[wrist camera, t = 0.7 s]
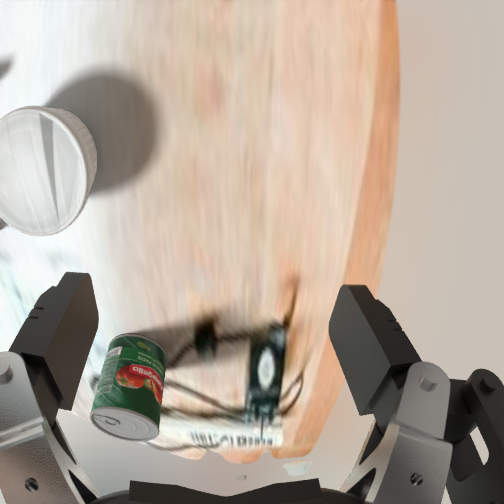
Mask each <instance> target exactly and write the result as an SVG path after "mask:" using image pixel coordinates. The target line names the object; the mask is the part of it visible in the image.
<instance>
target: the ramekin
mask: <svg viewBox="0 0 504 504" xmlns="http://www.w3.org/2000/svg"><path fill="white" fill-rule="evenodd" d="M96 171H97V150H96V146H95V142H94V140H93V137H92V135H91V133H90V131H89V130H88V128H87V127H86V125H85V124H84V123H83V122H82V121H81V120H80V119H79V118H78V117H77V116H76V115H74V114H73V113H71V112H68V111H67V110H63V109H60V108H46V107H41V106H26V107H22V108H19V109H16V110H14V111H12V112H10V113H8V114H7V115H5V116H4V117H3V118H1V119H0V217H1V218H2V219H3V220H4V221H5V222H6V223H7V224H8V225H10V226H11V227H13V228H14V229H16V230H18V231H20V232H22V233H25V234H28V235H33V236H48V235H53V234H57V233H59V232H61V231H63V230H64V229H66V228H67V227H68V226H70V225H71V224H72V223H73V222H74V221H75V220H76V218H77V217H78V216H79V214H80V213H81V211H82V210H83V208H84V206H85V204H86V202H87V199H88V196H89V192H90V189H91V187H92V184H93V181H94V179H95V174H96Z"/></svg>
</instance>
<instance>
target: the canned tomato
mask: <svg viewBox="0 0 504 504" xmlns="http://www.w3.org/2000/svg"><path fill="white" fill-rule="evenodd" d="M166 363H167V355H166V352H165V351H164V349H163V348H162V347H161V346H160V345H159V344H158V343H157V342H155V341H154V340H152V339H150V338H147V337H145V336H141V335H137V334H124V335H119V336H117V337H115V338H114V339H112V341H111V342H110V344H109V348H108V352H107V355H106V358H105V361H104V365H103V369H102V372H101V375H100V379H99V383H98V386H97V390H96V395H95V398H94V402H93V407H92V411H91V413H90V420H91V422H92V423H93V425H94V426H95V427H96V428H98V429H99V430H101V431H102V432H104V433H106V434H108V435H110V436H113V437H115V438H119V439H123V440H127V441H137V442H141V441H149V440H152V439H154V438H156V437H157V436H158V435H159V424H160V414H161V404H162V397H163V387H164V378H165V371H166Z"/></svg>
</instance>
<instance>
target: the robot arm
mask: <svg viewBox="0 0 504 504" xmlns="http://www.w3.org/2000/svg"><path fill="white" fill-rule="evenodd" d="M98 321H99V316H98V309H97V305H96V300H95V295H94V290H93V285H92V280H91V276H90V275H89V274H88V273H77V272H66V273H65V274H64V276H63V277H62V279H61V280H60V282H59V284H58V285H57V287H55V286H52V287H51V288H49V289H48V290H47V291H46V292H44V293H43V294H42V295H41V296H40V297H39V299H38V300H37V302H36V304H35V305H34V309H32V310H31V312H30V314H29V315H28V318H27V319H26V320H25V322H24V324H23V326H22V327H21V329H20V331H19V333H18V334H17V336H16V338H15V340H14V342H13V343H12V345H11V347H10V349H9V351H8V352H0V489H1V491H2V494H3V496H4V499H5V502H6V504H441V501H442V497H443V493H444V489H445V485H446V488H447V491H448V494H449V497H450V500H451V503H452V504H504V385H503V384H502V382H501V380H500V379H499V378H498V377H497V376H496V375H495V374H494V373H492V372H491V371H489V370H486V369H477V370H475V371H474V372H473V373H472V374H471V376H470V377H469V378H468V380H467V381H466V380H456V379H449V378H448V376H447V374H446V373H445V372H444V371H443V370H442V369H441V368H440V367H438V366H437V365H435V364H433V363H429V362H422V360H421V359H420V357H419V355H418V354H417V352H416V350H415V349H414V347H413V345H412V344H411V342H410V340H409V339H408V337H407V336H406V334H405V332H404V331H402V328H401V326H400V325H399V323H398V322H396V318H395V317H394V315H393V314H392V312H391V311H390V309H389V308H388V307H386V306H385V305H384V304H383V303H382V302H380V301H379V300H375V298H374V297H373V295H372V294H371V292H370V291H369V289H368V288H367V286H366V285H342V286H341V288H340V290H339V293H338V296H337V300H336V303H335V306H334V309H333V312H332V315H331V318H330V321H329V336H330V340H331V342H332V345H333V347H334V350H335V352H336V355H337V357H338V360H339V362H340V365H341V368H342V370H343V373H344V375H345V378H346V380H347V383H348V386H349V388H350V391H351V393H352V396H353V398H354V401H355V404H356V407H357V409H358V412H359V415H367V414H374V417H375V420H374V421H373V423H372V425H371V427H370V430H369V432H368V435H367V437H366V440H365V442H364V445H363V447H362V449H361V452H360V454H359V457H358V459H357V461H356V463H355V466H354V468H353V470H352V472H351V473H350V475H349V476H348V478H347V479H346V480H345V482H344V483H343V485H342V486H341V488H340V490H339V491H337V490H333V489H326V488H320V484H319V480H318V478H316V479H310V480H302V481H295V482H286V483H276V484H272V485H269V486H265V487H262V488H259V489H255V490H252V491H248V492H245V493H241V494H237V495H233V496H227V497H224V496H218V495H214V494H209V493H205V492H201V491H197V490H193V489H189V488H185V487H181V486H178V485H170V484H158V483H147V482H139V481H130V488H129V490H125V491H119V492H115V493H111V494H108V495H105V496H102V497H100V495H99V494H98V492H97V491H96V489H95V487H94V486H93V485H92V483H91V482H90V480H89V479H88V478H87V476H86V475H85V473H84V472H83V470H82V469H81V467H80V465H79V463H78V461H77V459H76V457H75V455H74V454H73V452H72V450H71V448H70V446H69V444H68V442H67V440H66V438H65V436H64V433H63V432H62V429H61V427H60V425H59V422H58V420H57V419H56V415H57V412H58V409H59V408H60V409H64V410H69V411H71V410H72V406H73V402H74V399H75V396H76V392H77V389H78V386H79V382H80V379H81V376H82V373H83V370H84V367H85V364H86V361H87V358H88V355H89V352H90V349H91V346H92V343H93V340H94V338H95V335H96V332H97V329H98ZM477 426H478V428H479V431H480V433H481V435H482V437H483V439H484V441H485V444H486V446H487V448H488V451H489V457H488V461H487V462H486V464H485V465H483V463H482V461H481V458H480V456H479V454H478V451H477V449H476V447H475V445H474V442H473V440H472V438H471V436H470V433H471V432H472V431H473V430H474V429H475V428H476V427H477Z"/></svg>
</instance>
